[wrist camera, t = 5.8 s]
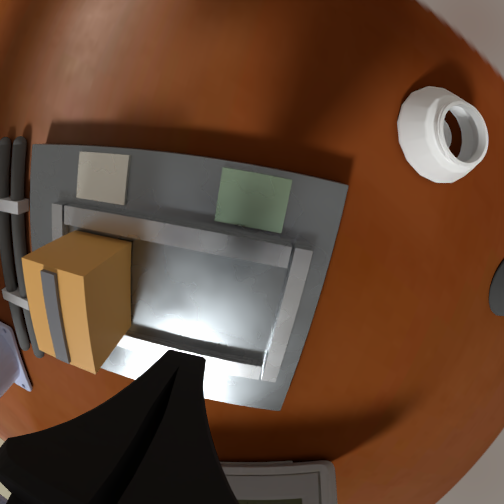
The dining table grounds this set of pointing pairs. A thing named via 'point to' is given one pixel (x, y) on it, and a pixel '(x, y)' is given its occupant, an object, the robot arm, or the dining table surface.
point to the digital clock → (282, 482)
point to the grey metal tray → (200, 256)
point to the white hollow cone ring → (440, 134)
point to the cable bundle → (15, 238)
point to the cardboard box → (79, 297)
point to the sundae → (497, 292)
